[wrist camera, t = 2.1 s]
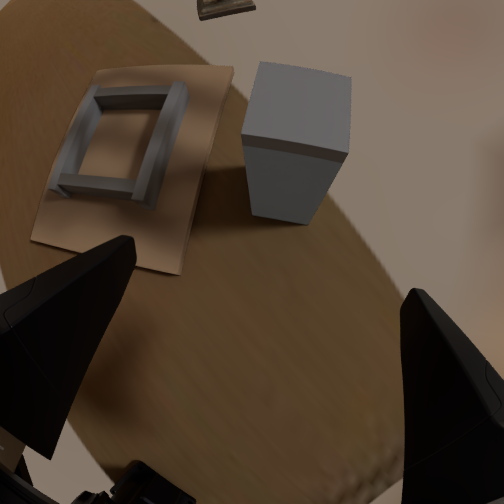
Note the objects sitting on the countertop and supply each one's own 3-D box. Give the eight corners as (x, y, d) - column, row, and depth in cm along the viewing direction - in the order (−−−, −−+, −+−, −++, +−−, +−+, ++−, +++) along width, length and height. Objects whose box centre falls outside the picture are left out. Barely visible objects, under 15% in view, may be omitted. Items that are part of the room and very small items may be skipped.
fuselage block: (308, 225, 23) (348, 153, 11) (252, 215, 23) (240, 133, 11) (315, 174, 24) (351, 77, 12) (262, 164, 24) (260, 61, 12)
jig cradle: (180, 275, 23) (166, 271, 19) (36, 241, 24) (13, 234, 20) (234, 72, 26) (230, 49, 22) (101, 75, 27) (88, 57, 23)
